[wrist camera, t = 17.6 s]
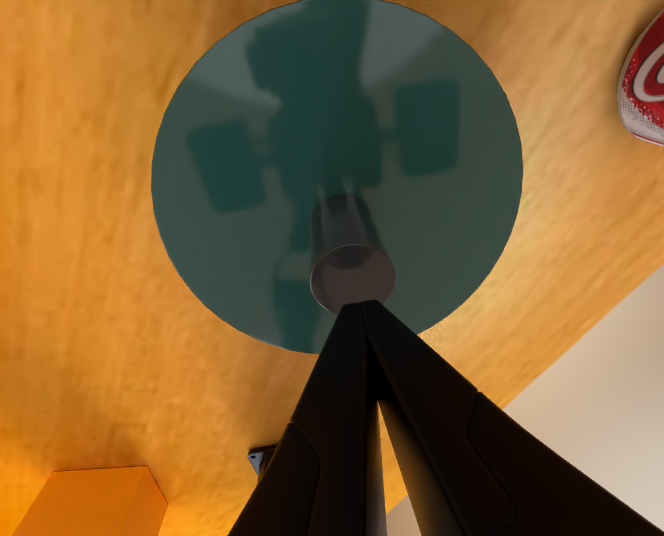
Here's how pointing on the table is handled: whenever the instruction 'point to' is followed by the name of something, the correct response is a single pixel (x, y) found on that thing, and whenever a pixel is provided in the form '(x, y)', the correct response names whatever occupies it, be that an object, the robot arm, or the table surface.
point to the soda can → (644, 85)
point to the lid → (336, 170)
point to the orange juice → (96, 504)
